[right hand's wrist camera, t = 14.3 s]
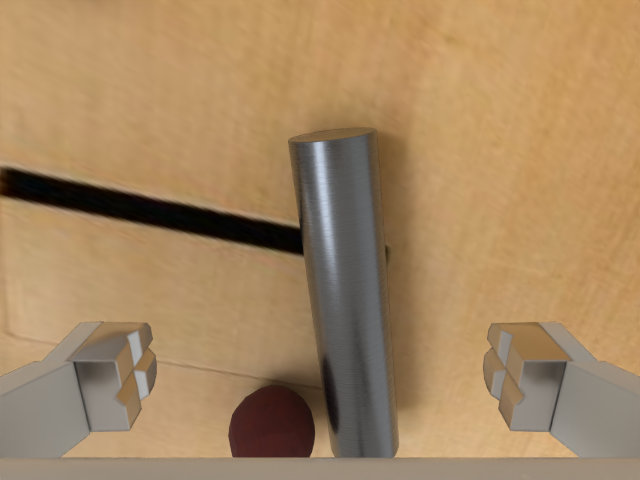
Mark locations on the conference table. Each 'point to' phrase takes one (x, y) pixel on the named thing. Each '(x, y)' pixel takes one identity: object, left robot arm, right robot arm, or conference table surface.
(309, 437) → the dark red ball
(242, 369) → the conference table surface
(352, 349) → the rod
